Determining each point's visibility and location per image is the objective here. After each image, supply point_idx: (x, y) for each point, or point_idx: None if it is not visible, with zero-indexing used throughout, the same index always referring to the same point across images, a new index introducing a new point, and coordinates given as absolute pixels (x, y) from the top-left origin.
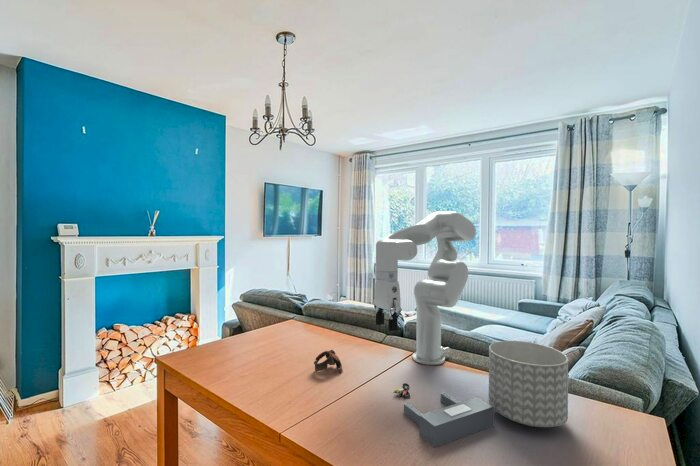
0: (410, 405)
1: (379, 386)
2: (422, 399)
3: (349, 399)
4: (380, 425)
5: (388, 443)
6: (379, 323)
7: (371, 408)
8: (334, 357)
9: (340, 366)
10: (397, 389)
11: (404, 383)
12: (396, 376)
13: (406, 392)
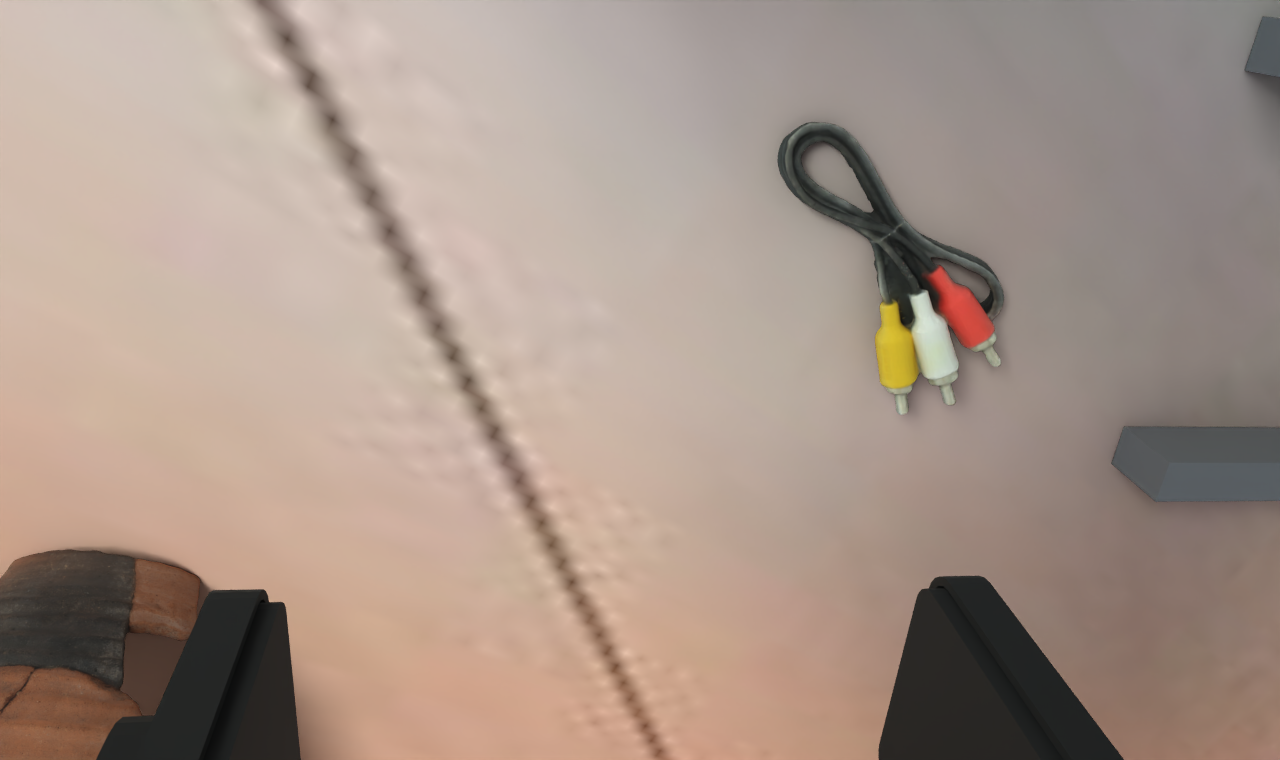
0: (1206, 470)
1: (656, 394)
2: (1092, 191)
3: (710, 692)
4: (1093, 656)
5: (1232, 692)
6: (290, 756)
7: (910, 618)
8: None
9: (154, 629)
10: (906, 364)
11: (792, 160)
12: (547, 80)
13: (980, 305)
